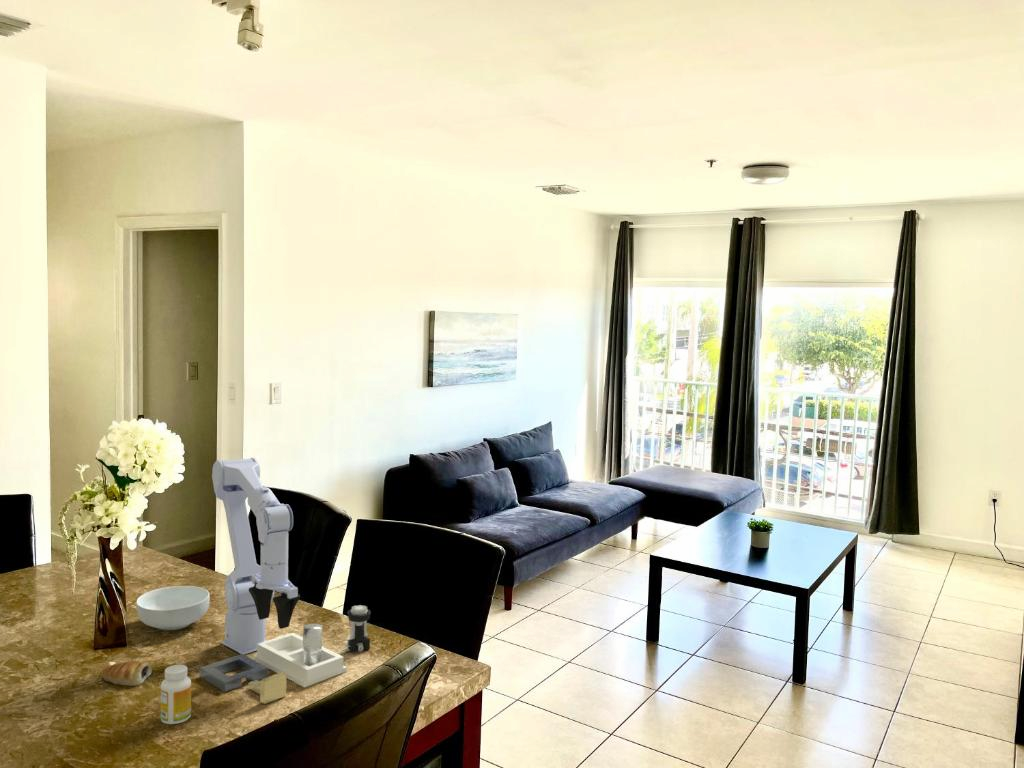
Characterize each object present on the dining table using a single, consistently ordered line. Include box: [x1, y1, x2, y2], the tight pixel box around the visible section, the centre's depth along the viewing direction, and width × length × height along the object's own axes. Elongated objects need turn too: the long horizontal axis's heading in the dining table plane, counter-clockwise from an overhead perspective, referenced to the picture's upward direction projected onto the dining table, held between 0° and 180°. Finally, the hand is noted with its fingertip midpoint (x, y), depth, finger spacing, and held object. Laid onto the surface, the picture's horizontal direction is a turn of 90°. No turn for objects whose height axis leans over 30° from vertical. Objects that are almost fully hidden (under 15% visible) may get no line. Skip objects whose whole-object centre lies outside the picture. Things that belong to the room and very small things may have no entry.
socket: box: [199, 653, 269, 693], centre depth 172 cm, size 10×10×2 cm
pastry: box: [101, 660, 153, 687], centre depth 170 cm, size 9×7×4 cm
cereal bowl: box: [135, 585, 211, 631], centre depth 199 cm, size 17×17×7 cm
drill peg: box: [302, 623, 323, 666], centre depth 176 cm, size 4×4×9 cm
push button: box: [341, 604, 372, 653], centre depth 188 cm, size 7×5×10 cm
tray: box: [253, 632, 348, 688], centre depth 179 cm, size 19×11×4 cm, turn 50°
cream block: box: [247, 672, 287, 705], centre depth 165 cm, size 8×5×4 cm, turn 50°
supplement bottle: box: [160, 664, 192, 725], centre depth 154 cm, size 5×5×10 cm
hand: (273, 622), depth 176 cm, fingers open, 7 cm apart
